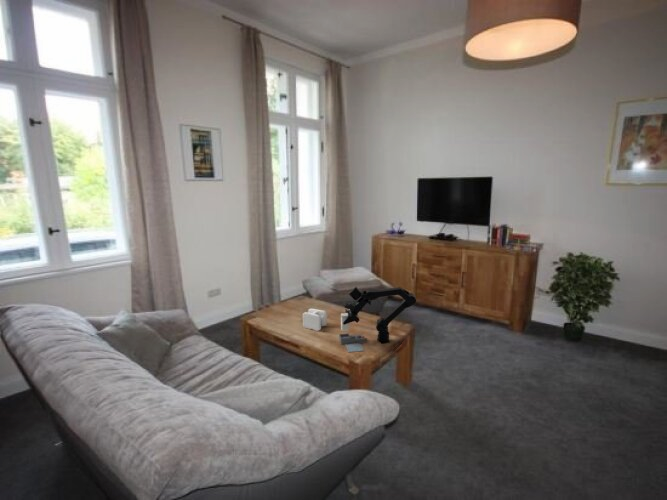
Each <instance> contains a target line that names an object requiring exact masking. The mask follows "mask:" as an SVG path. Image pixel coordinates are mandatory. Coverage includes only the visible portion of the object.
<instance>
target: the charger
mask: <svg viewBox="0 0 667 500" xmlns="http://www.w3.org/2000/svg"><path fill="white" fill-rule="evenodd" d="M347 317H348V313H345V312H344V313H343V312H342V313H340V329H341V331H342V332H346V331H347V332H348V331H350V323H347V324H345V325H344V324H343V323H344V321H345V320H346V319H347Z"/></svg>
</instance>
